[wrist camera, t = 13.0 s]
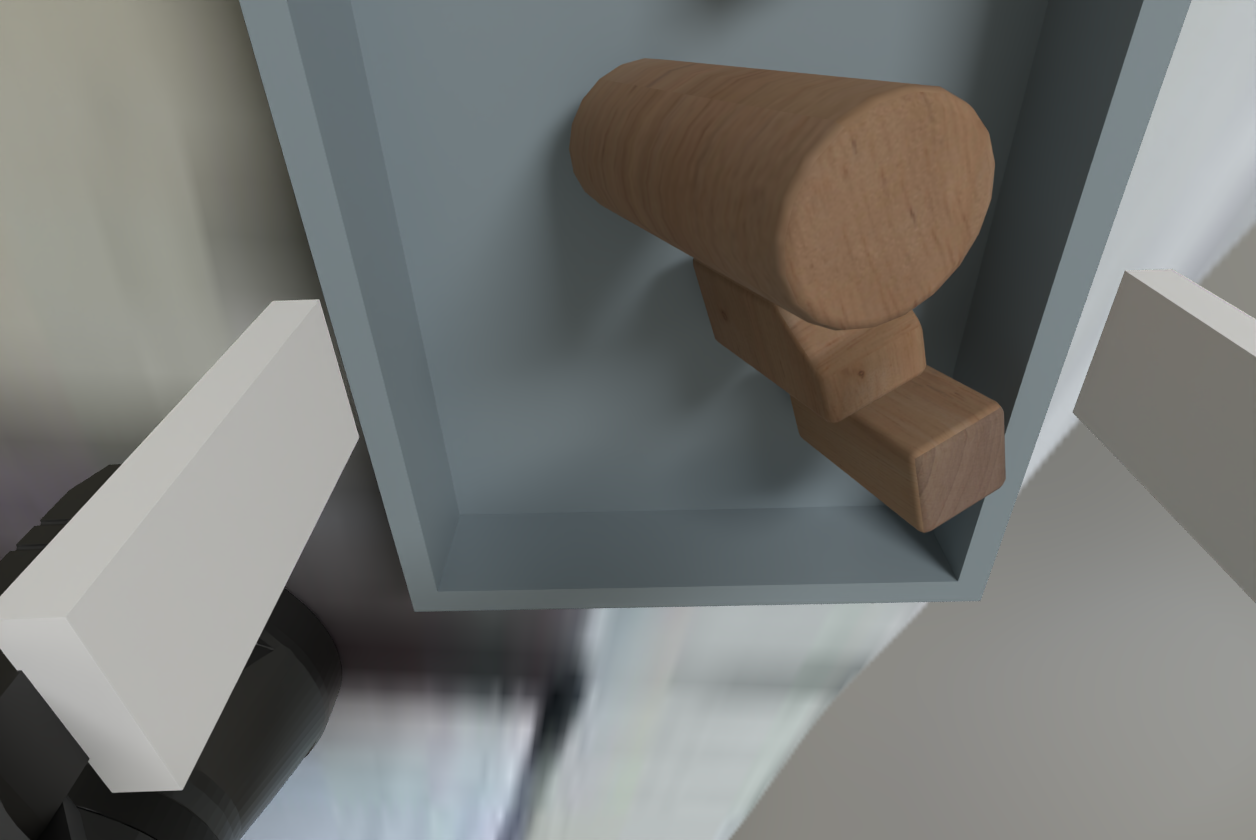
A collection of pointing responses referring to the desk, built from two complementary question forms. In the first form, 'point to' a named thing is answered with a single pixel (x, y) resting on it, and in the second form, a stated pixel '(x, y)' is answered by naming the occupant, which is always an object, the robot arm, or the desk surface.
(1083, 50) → the crate
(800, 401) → the wooden block set
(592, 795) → the desk surface
